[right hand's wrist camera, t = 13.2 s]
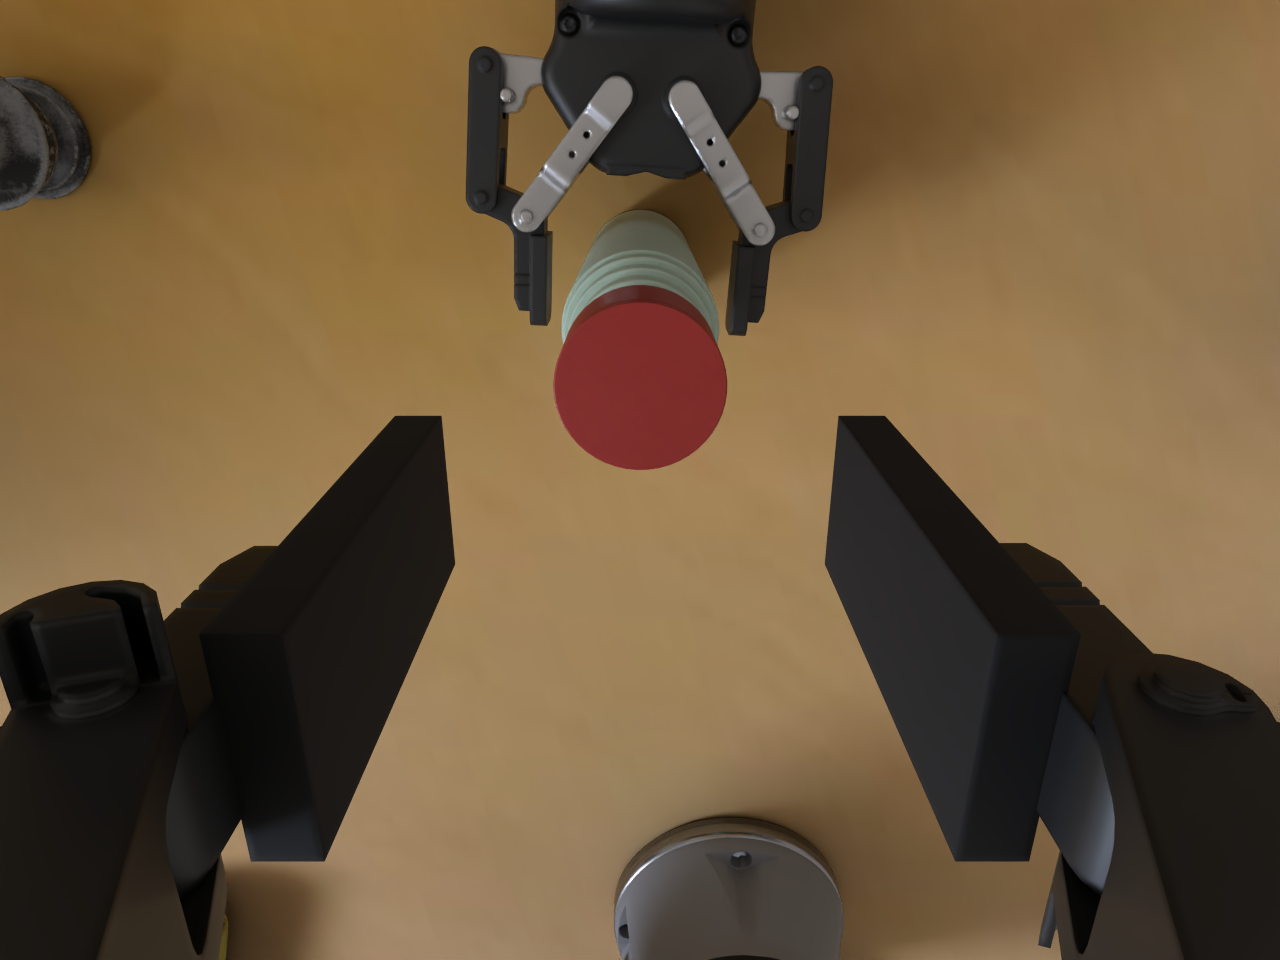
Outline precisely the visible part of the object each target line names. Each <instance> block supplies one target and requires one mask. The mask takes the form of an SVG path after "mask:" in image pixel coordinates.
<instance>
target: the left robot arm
mask: <svg viewBox="0 0 1280 960" xmlns="http://www.w3.org/2000/svg"><path fill="white" fill-rule="evenodd" d="M755 3H756V0H555V30H554V36H553V40H552V42H551V45H550V48H549V50H548V52H547V53H546V55H545V57H544V58H537V57H528V56H519V55H511V54H502V53H500V52H498V51H497V50H495V49H493V48H490V47H486V46H483V47H479V48H477V49H475V50H474V51H473V52H472V54H471V56H470V59H469V89H468V130H467V170H466V201H467V204H468V205H469V207H470V208H471V209H472V210H473V211H475V212H477V213H484V214H487V215H489V216H491V217H494V218H496V219H498V220H500V221H502V222H504V223H506V224H507V225H508V226H509V227H510V229H511V230H512V232H513V235H514V273H515V274H514V283H515V285H514V298H515V301H516V304H517V306H518V309H519V310H523V311H530V324H531V325H542V326H547V325H548V323H549V321H550V318H551V299H552V235H553V231H547V223H548V217H549V215H550V214H551V213H552V211H553V210H554V209H555V207H556V206H557V205H558V203H559V202H560V201H561V199H562V198H563V197H564V195H565V194H566V193H567V191H568V190H569V189H570V188H571V186H572V185H573V184H574V183H575V181H576V180H577V179H578V177H579V176H580V175H581V173H582V172H583V171H584V169H585V168H586V167H587V165H588V164H589V163H591V164H592V165H593V166H594V167H596V168H597V169H598V170H600V171H602V172H605V173H607V175H620V176H628V175H632V174H637V173H641V172H650V173H653V174H655V175H658V176H661V177H664V178H671V179H685V178H687V177H690V176H693V175H695V174H697V173H699V172H700V171H701V170H703V171H704V173H705V175H706V176H707V178H708V180H709V181H710V183H711V185H712V186H713V188H714V190H715V191H716V193H717V194H718V196H719V197H720V199H721V201H722V202H723V204H724V206H725V207H726V209H727V211H728V212H729V214H730V216H731V218H732V219H733V221H734V223H735V224H736V226H737V228H738V229H739V239H738V241H733V246H732V257H731V267H730V278H729V289H728V299H727V310H726V330H727V332H728V334H729V335H738V336H745V335H746V331H747V323H748V322H754V323H758V322H759V320H760V318H761V316H762V314H763V312H764V307H765V297H766V289H767V280H768V271H769V262H770V254H771V250H772V247H773V246H774V244H775V243H776V242H777V241H778V240H779V239H781V238H782V237H785V236H788V235H791V234H795V233H798V232H801V231H810V230H813V229H814V228H816V227H817V226H818V224H819V223H820V221H821V217H822V206H823V194H824V182H825V170H826V158H827V147H828V135H829V123H830V111H831V99H832V87H833V79H832V75H831V73H830V72H829V71H828V70H827V69H826V68H824V67H821V66H815V67H812V68H810V69H807V70H805V71H803V72H760V71H759V68H758V66H757V63H756V61H755V57H754V53H753V47H752V35H753V24H754V14H755ZM537 86H543V88H544V91H545V92H546V94H547V96H548V97H549V99H550V101H551V102H552V104H553V105H554V107H555V109H556V110H557V112H558V113H559V115H560V117H561V118H562V120H563V121H564V123H565V125H566V126H567V128H568V130H569V131H568V133H567V134H566V135H565V137H564V138H563V140H562V141H561V142H560V144H559V145H558V146H557V148H556V149H555V150H554V152H553V153H552V154H551V156H550V157H549V159H548V160H547V161H546V163H545V164H544V166H543V167H542V169H541V171H540V172H539V174H538V175H537V176H536V178H535V179H534V180H533V182H532V183H531V185H530V186H529V187H528V189H527V190H526V191H525V193H521V192H519V191H517V190H515V189H512V188H510V187H508V186H506V169H507V145H508V120H509V114H515V113H518V112H520V111H521V110H523V108H524V107H525V105H526V102H527V97H528V94H529V93H530V91H531V90H532V89H533V88H535V87H537ZM758 99H761V100H763V101H765V102H766V103H767V104H768V105H769V107H770V109H771V114H772V121H773V123H774V124H775V126H776V127H777V128H779V129H781V130H787V144H786V159H785V174H784V189H783V202H779V203H776V204H773V205H770V206H767V207H764V205H763V203H762V201H761V200H760V198H759V196H758V194H757V193H756V191H755V189H754V187H753V186H752V184H751V181H750V179H749V177H748V175H747V173H746V171H745V170H744V168H743V166H742V164H741V163H740V161H739V159H738V157H737V156H736V154H735V152H734V150H733V149H732V147H731V145H730V143H729V142H728V140H727V139H728V138H729V137H730V136H731V134H732V133H733V132H734V131H735V129H736V128H737V127H738V125H739V124H740V123H741V122H742V120H743V119H744V118H745V117H746V115H747V114H748V113H749V111H750V110H751V109H752V108H753V106H754V105H755V104H756V102H757V100H758Z"/></svg>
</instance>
